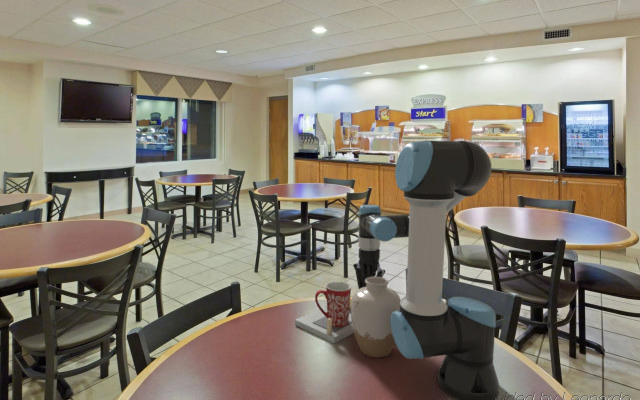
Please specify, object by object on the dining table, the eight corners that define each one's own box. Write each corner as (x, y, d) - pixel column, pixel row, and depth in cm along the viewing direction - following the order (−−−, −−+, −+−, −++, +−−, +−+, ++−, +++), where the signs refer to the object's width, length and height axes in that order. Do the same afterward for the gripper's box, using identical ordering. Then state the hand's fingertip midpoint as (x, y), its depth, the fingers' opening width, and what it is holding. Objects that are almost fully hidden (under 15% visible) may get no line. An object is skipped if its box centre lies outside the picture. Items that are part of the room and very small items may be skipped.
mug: (350, 316, 138) (350, 281, 137) (352, 328, 129) (352, 290, 128) (315, 317, 138) (315, 281, 137) (315, 328, 129) (314, 290, 128)
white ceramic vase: (362, 333, 131) (363, 269, 128) (407, 345, 123) (409, 277, 120) (341, 354, 118) (342, 283, 115) (390, 369, 110) (392, 293, 107)
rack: (376, 320, 141) (376, 302, 140) (334, 343, 124) (334, 322, 123) (338, 305, 154) (338, 289, 153) (295, 324, 137) (294, 306, 136)
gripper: (390, 249, 134) (389, 312, 138) (361, 243, 143) (360, 302, 147) (377, 253, 129) (376, 319, 132) (348, 246, 138) (348, 308, 141)
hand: (368, 310), depth 140 cm, fingers closed
